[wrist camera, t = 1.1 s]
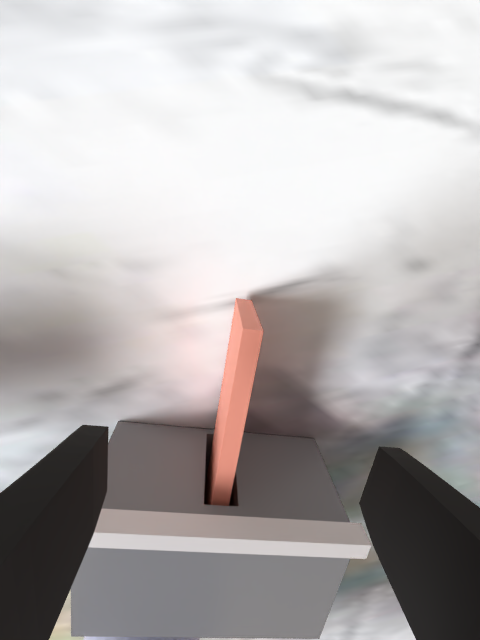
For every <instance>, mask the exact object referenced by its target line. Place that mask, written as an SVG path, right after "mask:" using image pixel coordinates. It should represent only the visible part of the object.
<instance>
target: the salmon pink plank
mask: <svg viewBox="0 0 480 640" xmlns="http://www.w3.org/2000/svg"><path fill="white" fill-rule="evenodd" d="M263 332H264V331H263V328H262V326H261V323H260V321H259V318H258V315H257V313H256V310H255V308H254V305H253V303H252V300H245V299H238V298H236V302H235V308H234V314H233V320H232V326H231V332H230V338H229V344H228V350H227V357H226V363H225V369H224V375H223V381H222V387H221V393H220V399H219V405H218V411H217V417H216V423H215V429H214V435H213V441H212V447H211V454H210V460H209V466H208V472H207V478H206V484H205V490H204V504H205V505H221V506H229V502H230V497H231V492H232V487H233V482H234V477H235V472H236V467H237V462H238V457H239V452H240V447H241V442H242V437H243V432H244V427H245V422H246V417H247V412H248V407H249V402H250V397H251V392H252V387H253V382H254V377H255V372H256V367H257V362H258V357H259V352H260V347H261V342H262V337H263Z"/></svg>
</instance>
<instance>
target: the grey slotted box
mask: <svg viewBox="0 0 480 640" xmlns="http://www.w3.org/2000/svg"><path fill="white" fill-rule="evenodd" d="M213 435H214V430H212V429H200V428H189V427H178V426H167V425H155V424H144V423H133V422H121V421H118V423H117V425H116V427H115V430H114V432H113V434H112V436H111V438H110V440H109V443H108V478H107V493H106V496H105V499H104V503H103V506H102V509H101V512H100V516H99V519H98V522H97V525H96V528H95V531H94V534H93V537H92V539H91V541H90V544H89V546H88V549H87V551H86V553H85V556H84V558H83V561H82V563H81V565H80V568H79V570H78V572H77V575H76V577H75V579H74V582H73V584H72V586H71V636H85V637H192V638H299V639H319V638H320V635H321V633H322V630H323V628H324V625H325V622H326V620H327V617H328V615H329V612H330V610H331V607H332V604H333V602H334V599H335V597H336V594H337V592H338V589H339V586H340V584H341V581H342V579H343V576H344V573H345V571H346V568H347V566H348V563H349V561H350V558H354V559H366V558H367V555H368V553H369V551H370V548H371V543H370V541H369V539H368V537H367V535H366V533H365V530H364V528H363V526H362V524H361V523H350V521H349V519H348V516H347V514H346V512H345V509H344V507H343V505H342V502H341V500H340V498H339V495H338V493H337V491H336V488H335V486H334V484H333V481H332V479H331V477H330V474H329V472H328V470H327V467H326V465H325V463H324V460H323V458H322V456H321V453H320V451H319V449H318V446H317V444H316V442H315V439H313V438H302V437H291V436H279V435H268V434H257V433H245V432H243V437H242V442H241V447H240V452H239V457H238V462H237V467H236V472H235V477H234V482H233V487H232V492H231V497H230V502H229V506H221V505H205V504H204V490H205V484H206V478H207V472H208V466H209V460H210V454H211V447H212V441H213Z"/></svg>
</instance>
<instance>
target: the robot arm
mask: <svg viewBox="0 0 480 640" xmlns="http://www.w3.org/2000/svg"><path fill="white" fill-rule="evenodd" d="M107 478H108V427H104V426H91V425H82V426H81V427H80V428H78V429H77V430H76V431H75V432H73V433H72V434H71V435H70V436H69V437H67V438H66V439H65V440H64V441H63V442H62V443H60V444H59V445H58V446H57V447H56V448H55V449H53V450H52V451H51V452H50V453H49V454H47V455H46V456H45V457H44V458H43V459H42V460H40V461H39V462H38V463H37V464H36V465H34V466H33V467H32V468H31V469H30V470H28V471H27V472H26V473H25V474H23V475H22V476H21V477H20V478H18V479H17V480H16V481H15V482H13V483H12V484H11V485H10V486H8V487H7V488H6V489H5V490H4V491H2V492H1V493H0V640H49V638H50V636H51V633H52V631H53V629H54V626H55V624H56V621H57V619H58V617H59V614H60V612H61V610H62V607H63V605H64V603H65V600H66V598H67V596H68V593H69V591H70V589H71V586H72V584H73V582H74V579H75V577H76V575H77V572H78V570H79V568H80V565H81V563H82V561H83V558H84V556H85V553H86V551H87V549H88V546H89V544H90V541H91V539H92V537H93V534H94V531H95V528H96V525H97V522H98V519H99V516H100V512H101V509H102V506H103V503H104V499H105V496H106V493H107ZM359 504H360V507H361V510H362V513H363V517H364V520H365V523H366V526H367V529H368V532H369V535H370V538H371V541H372V543H373V546H374V548H375V551H376V553H377V555H378V557H379V560H380V562H381V564H382V566H383V568H384V571H385V573H386V575H387V577H388V579H389V582H390V584H391V586H392V588H393V590H394V593H395V595H396V597H397V599H398V601H399V603H400V606H401V608H402V610H403V612H404V614H405V616H406V619H407V621H408V623H409V625H410V627H411V629H412V632H413V634H414V636H415V638H416V640H480V508H479V507H478V506H477V505H475V504H474V503H473V502H471V501H470V500H469V499H468V498H466V497H465V496H464V495H462V494H461V493H460V492H458V491H457V490H456V489H454V488H453V487H452V486H451V485H449V484H448V483H447V482H445V481H444V480H443V479H441V478H440V477H439V476H438V475H436V474H435V473H434V472H432V471H431V470H430V469H428V468H427V467H426V466H424V465H423V464H422V463H420V462H419V461H418V460H416V459H415V458H413V457H412V456H411V455H409V454H408V453H406V452H405V451H403V450H402V449H400V448H390V447H379V449H378V451H377V454H376V457H375V460H374V463H373V466H372V468H371V471H370V474H369V477H368V480H367V483H366V485H365V488H364V491H363V494H362V497H361V500H360V502H359ZM84 640H199V638H192V637H85V636H84Z"/></svg>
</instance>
